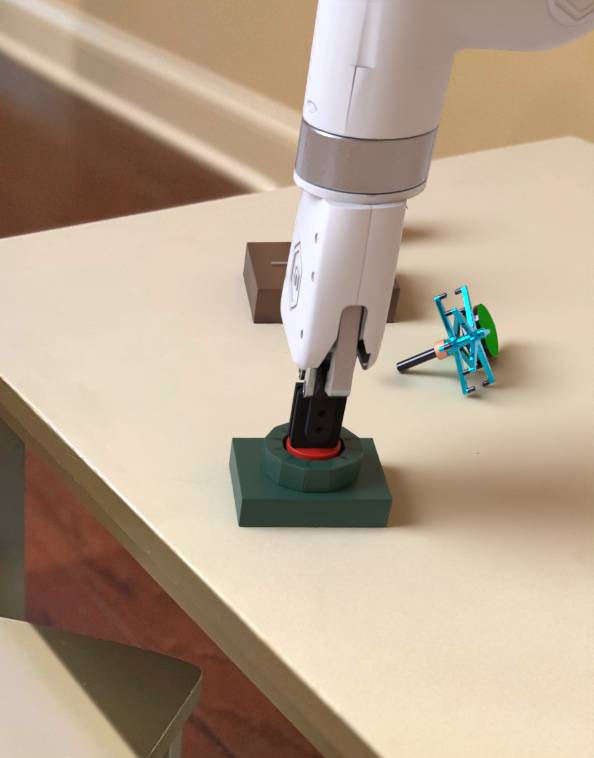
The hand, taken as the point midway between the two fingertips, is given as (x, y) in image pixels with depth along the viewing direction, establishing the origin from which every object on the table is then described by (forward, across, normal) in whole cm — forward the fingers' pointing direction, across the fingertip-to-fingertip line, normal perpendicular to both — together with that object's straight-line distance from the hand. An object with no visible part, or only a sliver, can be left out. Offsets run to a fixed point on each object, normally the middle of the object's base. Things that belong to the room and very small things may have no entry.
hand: (312, 441), depth 80 cm
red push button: (+2, 0, 0) cm, 2 cm away
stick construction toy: (+4, -19, +14) cm, 24 cm away
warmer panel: (+4, -32, +5) cm, 33 cm away
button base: (+4, 0, 0) cm, 4 cm away
